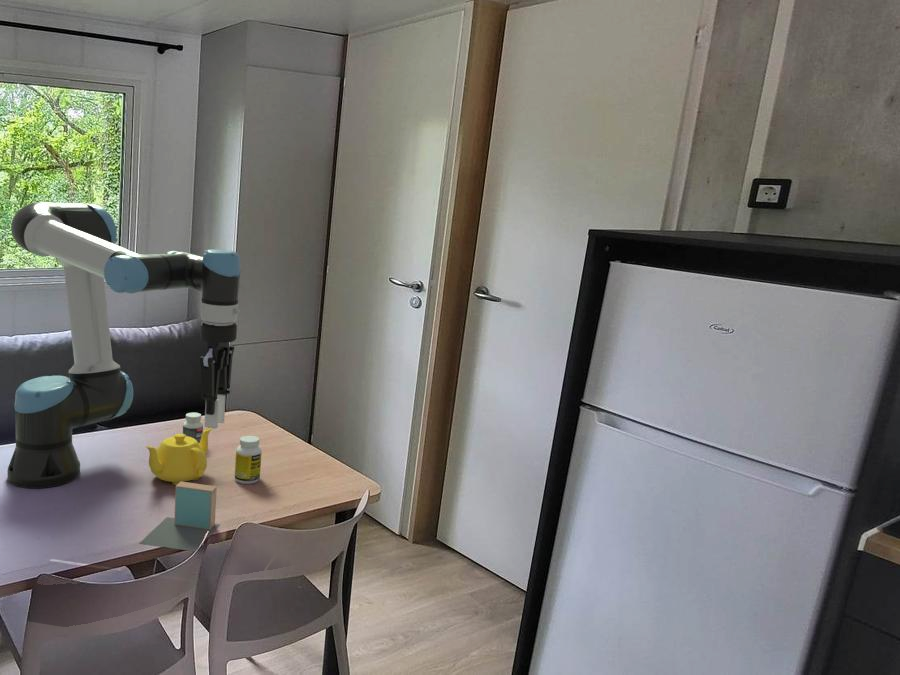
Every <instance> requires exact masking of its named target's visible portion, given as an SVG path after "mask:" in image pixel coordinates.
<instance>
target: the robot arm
mask: <svg viewBox="0 0 900 675" xmlns="http://www.w3.org/2000/svg"><path fill="white" fill-rule="evenodd" d="M10 226H11V228H10V230H11V235H12V237H13V239H14V241H15V242H16V244H17V245H19V247H20V248H22V249H23V250H25V251H27V252H28V253H31V254H33V255H35V256H39V257H53V258H54V259H55V261H56V262H57V263H58V264H60V265H61V266H62V267H63V272H64V273H63V274H64V282H65V288H66V289H65V290H66V292H65V293H66V298H67V299H66V300H67V309H68V317H69V319H68V320H69V327H70V335H71V343H72V344H71V346H72V353H73V362H74V364H73V365H72V366H71V368H70V369H69V370H68V376H64V375H57V374H56V375H44V376H43V375H42V376H39V377H35V378H32V379H28V380H26V381H25V382H22V383H21V384H20V385H19V386H18V387H17V389H16V391H15V397H14V398H15V399H14V403H13V404H14V405H13V408H14V410H15V411H14V412H15V413H14V414H15V415H14V419H15V420H14V421H15V448H14V451H13V453H12V457H11V459H10V462H9V464H8V467H7V482H9V484H11V485H13V486H15V487H20V488H26V489H43V488H45V489H46V488H52V487H56V486H61V485H64V484H68V483H70V482H72V481H74V480H75V479H77V478H78V477H79V476H80V474H81V463H80V460H79V458H78V454H77V451H76V449H75V447H74V445H73V444H74V443H73V429H76V428H80V427H84V426H88V425H91V424H95V423H99V422H104V421H105V422H108V421H110V420H112V419H115V418H118V417H121V416H123V415H124V414H125V413H127V411H128V410H129V409H130V407H131V405H132V402H133V400H134V399H133V398H134V387H133V383H132V381H131V380H130V376H129V375H128V374H126V373H125V372H124V371H121V365H120V364H118V363H117V362H115V361H114V359H113V350H112V342H111V333H110V332H111V331H110V323H109V313H108V304H107V303H108V302H107V295H106V285H107V286H109V287H110V288H109V289H111V291H112V292H115V293H119V294H123V293H126V294H137V293H142V292H152V291H161V290H162V291H163V290H164V291H165V290H176V289H191V290H195V291H199V292H201V306H200V320H201V323H200V334H199V337H200V340H202V341H204V342H206V348H205V354H204V355H205V356H200V357H199V364H200V399H201V400H205V403H204V404H205V409H204V428H212V429H218V428H219V424H224V423H225V414H226V413H225V412H226V411H225V410H226V395H230V393H231V390H229V389H230V388H231V380H232V367H233V355H234V353H235V352H234V351H235V346H234V345H230V343H232V342H235V341H236V339H237V333H238V332H237V331H238V325H237V323H236V322H237V321H238V314H240V309H239V291H240V290H239V289H240V277H241V272H242V270H241V257H240V255H239V253H238V252H236V251H233V250H230V249H229V250H228V249H218V248H217V249H216V248H213V249H212V248H211V249H206V250H204V252H203V255H199V254H194V253H190V252H187V251H183V250H182V251H179V250H178V251H177V250H171V251H167V253H162V254H159V253H156V254H155V253H154V254H153V253H152V254H141V253H138V252H135V251H132V250H130V249H127V248H125V247H122V246H120V245H117V244H116V242H117V239H118V238H117V237H118V232H117V227H116V226H117V225H116V223H115V221H114V219H113V217H112V215H111V214H110V213H109V211H107V210H106V209H105V208H104V207H102V206H101V205H99V204H91V203H85V202H49V201H38V202H32V203H30V204H26V205H24V206H23V207H21V208H20V209H19V210H17V212H16V213H15V214H14V216H13V218H12V220H11V225H10ZM105 284H106V285H105Z"/></svg>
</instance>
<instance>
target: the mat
mask: <svg viewBox="0 0 900 675" xmlns="http://www.w3.org/2000/svg"><path fill="white" fill-rule="evenodd" d="M174 521H175V517H169V516H168V517H167V516H166V517H165V518H164V519H163V520H162V521H161V522H160V523H159V524H158V525H157V526H155V527H154V529H153V530H151V531H150V532H149V534H147V535H146V536H145V537H144V538H143V539H142V540H141V541H140V542H139V544H140V545H147V546H148V545H149V546H155V547H161V548H168V549H173V550H181V551H188V552H193V553H196V552H195V551H196V549H197V548H198V547H199V545H200V544H201V542H202V539H203V537H204V536H205V534H206V533H207V531H209V533H210V534H209V538H210V537H211V536H212V534H214V533H215V531H216V530H217V529H218V528H219V526H220V524H217V523H215V525H214V526H213V527H212V528H211V530H209V529H202V528H195V527H188V526H181V525H174Z"/></svg>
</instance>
